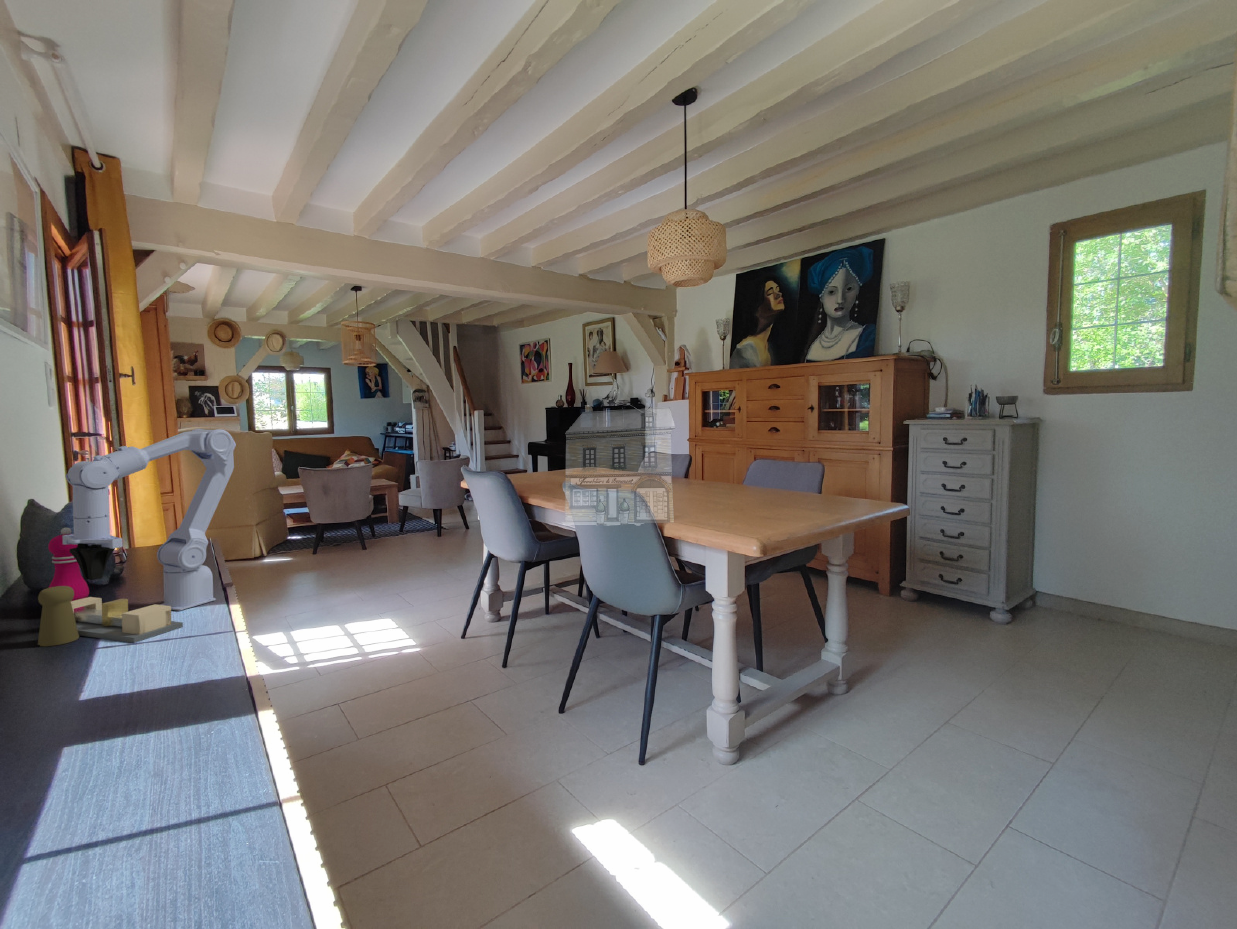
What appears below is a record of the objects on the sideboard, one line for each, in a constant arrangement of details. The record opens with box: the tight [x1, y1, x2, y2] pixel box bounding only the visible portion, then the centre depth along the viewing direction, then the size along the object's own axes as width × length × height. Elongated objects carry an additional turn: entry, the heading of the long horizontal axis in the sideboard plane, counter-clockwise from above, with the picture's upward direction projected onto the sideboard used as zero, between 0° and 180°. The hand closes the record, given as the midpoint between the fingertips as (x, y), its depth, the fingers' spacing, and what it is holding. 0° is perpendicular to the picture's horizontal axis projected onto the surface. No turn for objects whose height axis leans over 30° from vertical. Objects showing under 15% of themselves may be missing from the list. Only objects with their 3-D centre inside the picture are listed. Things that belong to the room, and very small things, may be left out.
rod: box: [74, 598, 129, 627], centre depth 124 cm, size 4×17×5 cm, turn 76°
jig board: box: [71, 596, 184, 643], centre depth 123 cm, size 10×25×5 cm, turn 76°
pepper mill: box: [47, 527, 90, 609], centre depth 133 cm, size 7×7×20 cm
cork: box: [37, 586, 80, 647], centre depth 116 cm, size 6×6×11 cm
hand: (93, 579), depth 124 cm, fingers closed
